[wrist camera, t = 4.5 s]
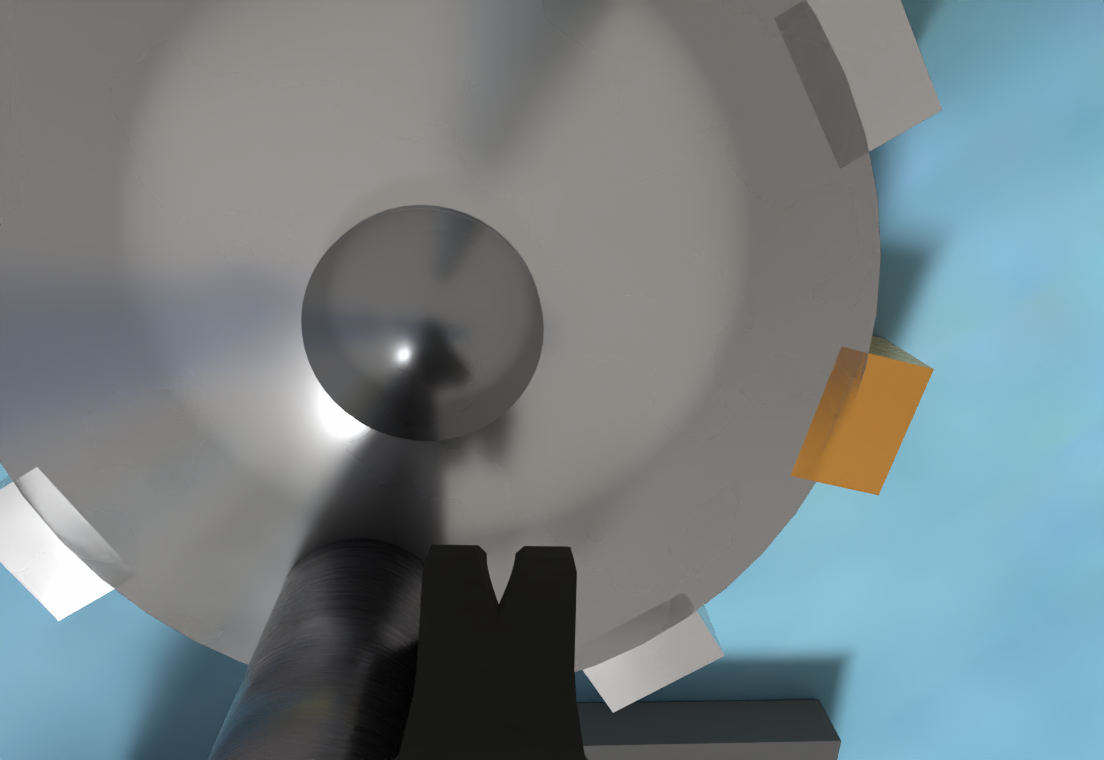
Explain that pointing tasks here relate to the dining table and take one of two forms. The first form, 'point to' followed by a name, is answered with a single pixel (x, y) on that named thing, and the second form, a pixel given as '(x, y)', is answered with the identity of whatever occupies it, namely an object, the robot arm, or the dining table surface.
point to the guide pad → (709, 731)
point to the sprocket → (435, 318)
